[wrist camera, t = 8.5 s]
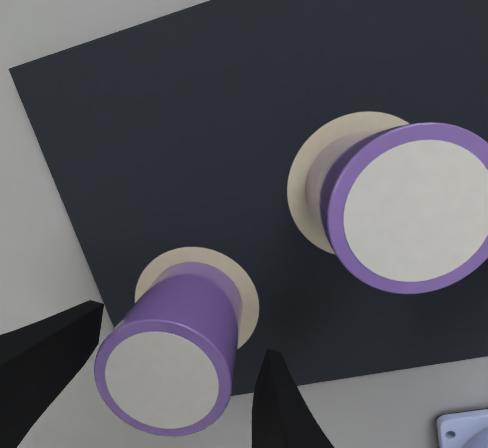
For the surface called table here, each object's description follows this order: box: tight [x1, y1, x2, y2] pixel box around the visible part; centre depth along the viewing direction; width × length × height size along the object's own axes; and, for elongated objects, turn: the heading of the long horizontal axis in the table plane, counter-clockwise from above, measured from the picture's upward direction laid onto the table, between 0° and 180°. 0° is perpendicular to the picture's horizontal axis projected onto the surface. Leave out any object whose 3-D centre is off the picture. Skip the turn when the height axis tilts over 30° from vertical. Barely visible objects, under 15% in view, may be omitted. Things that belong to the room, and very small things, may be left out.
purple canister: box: [94, 262, 243, 436], centre depth 13 cm, size 5×5×5 cm
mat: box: [9, 0, 488, 396], centre depth 14 cm, size 19×28×1 cm
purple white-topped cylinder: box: [305, 122, 488, 294], centre depth 11 cm, size 5×5×5 cm
